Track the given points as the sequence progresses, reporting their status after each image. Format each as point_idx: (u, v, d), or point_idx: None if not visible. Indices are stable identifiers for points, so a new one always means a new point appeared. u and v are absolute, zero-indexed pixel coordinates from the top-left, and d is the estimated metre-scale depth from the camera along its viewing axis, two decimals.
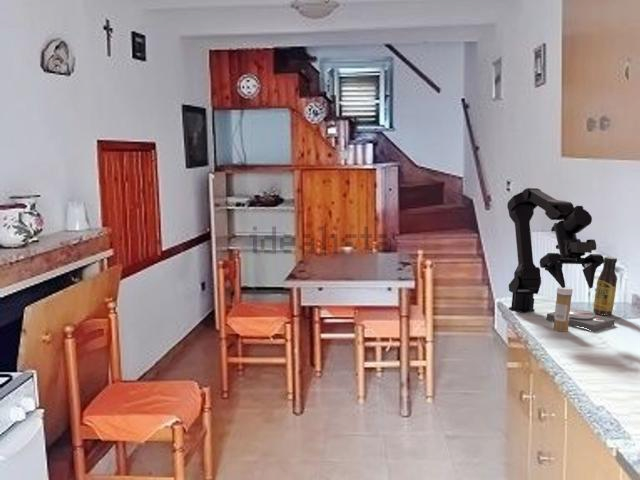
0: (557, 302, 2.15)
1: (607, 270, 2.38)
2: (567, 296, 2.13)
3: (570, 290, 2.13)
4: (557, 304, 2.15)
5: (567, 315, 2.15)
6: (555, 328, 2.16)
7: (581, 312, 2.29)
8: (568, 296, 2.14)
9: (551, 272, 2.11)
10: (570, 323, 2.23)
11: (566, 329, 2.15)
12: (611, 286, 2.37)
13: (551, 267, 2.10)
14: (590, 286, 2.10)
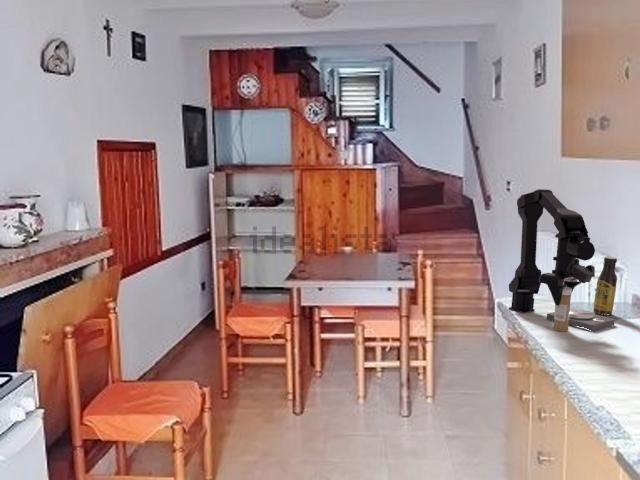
0: None
1: (607, 270, 2.38)
2: (566, 296, 2.13)
3: (569, 290, 2.13)
4: None
5: (567, 315, 2.14)
6: (555, 328, 2.16)
7: (581, 312, 2.29)
8: (567, 296, 2.13)
9: (550, 287, 2.14)
10: (570, 323, 2.23)
11: (566, 329, 2.15)
12: (611, 286, 2.37)
13: None
14: None
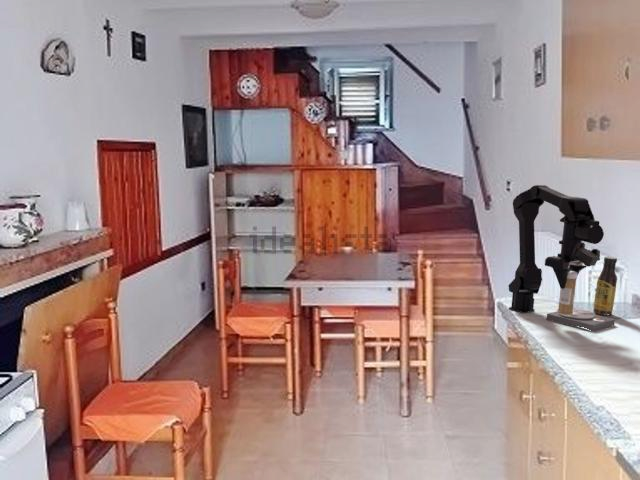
0: None
1: (607, 270, 2.38)
2: (572, 280, 2.16)
3: (575, 274, 2.16)
4: None
5: (572, 298, 2.17)
6: (559, 311, 2.19)
7: (581, 312, 2.29)
8: (573, 280, 2.16)
9: (555, 270, 2.17)
10: (570, 323, 2.23)
11: (570, 312, 2.18)
12: (611, 286, 2.37)
13: (559, 268, 2.15)
14: None
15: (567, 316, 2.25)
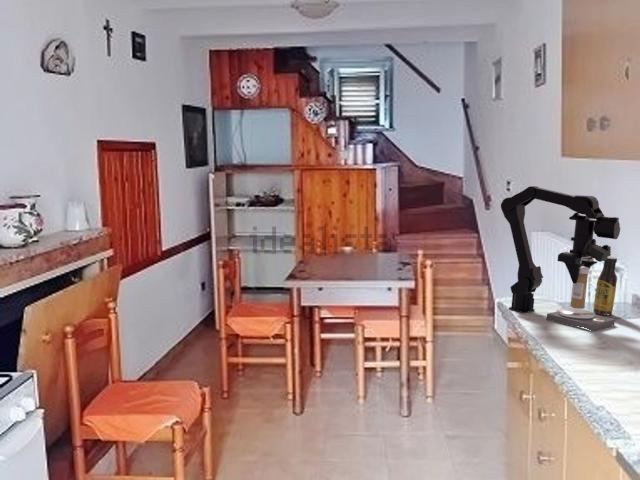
0: None
1: (607, 270, 2.38)
2: (584, 275, 2.24)
3: (587, 269, 2.24)
4: None
5: (583, 293, 2.25)
6: (572, 305, 2.27)
7: (581, 312, 2.29)
8: (585, 275, 2.24)
9: (568, 266, 2.25)
10: (570, 323, 2.23)
11: (582, 306, 2.26)
12: (611, 286, 2.37)
13: (571, 264, 2.23)
14: None
15: (567, 316, 2.25)
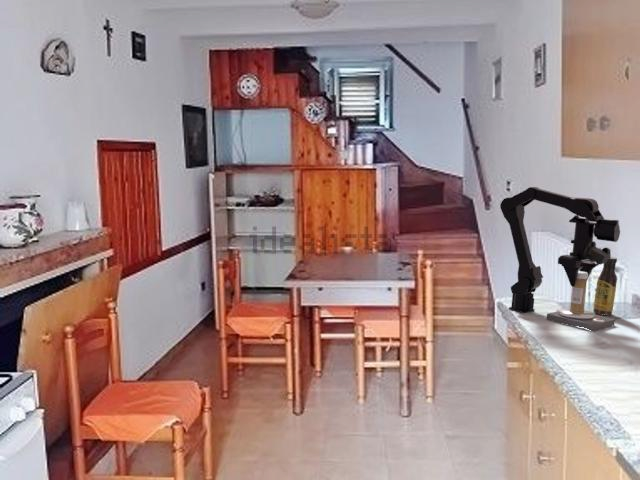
0: None
1: (607, 270, 2.38)
2: (583, 280, 2.25)
3: (586, 274, 2.25)
4: (573, 288, 2.27)
5: (583, 298, 2.26)
6: (571, 310, 2.28)
7: None
8: (584, 280, 2.25)
9: (566, 269, 2.25)
10: (570, 323, 2.23)
11: (582, 311, 2.27)
12: (611, 286, 2.37)
13: (569, 267, 2.23)
14: None
15: (567, 316, 2.25)
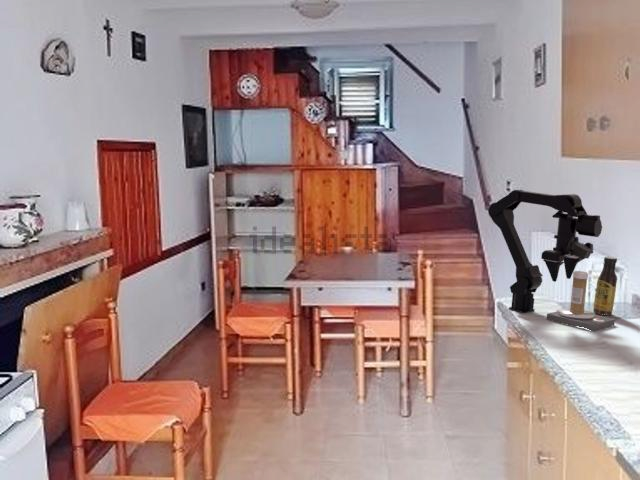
0: (573, 286, 2.27)
1: (607, 270, 2.38)
2: (583, 280, 2.25)
3: (586, 274, 2.25)
4: (573, 288, 2.27)
5: (583, 298, 2.26)
6: (571, 310, 2.28)
7: None
8: (584, 280, 2.25)
9: (547, 264, 2.26)
10: (570, 323, 2.23)
11: (582, 311, 2.27)
12: (611, 286, 2.37)
13: None
14: (568, 277, 2.33)
15: (567, 316, 2.25)
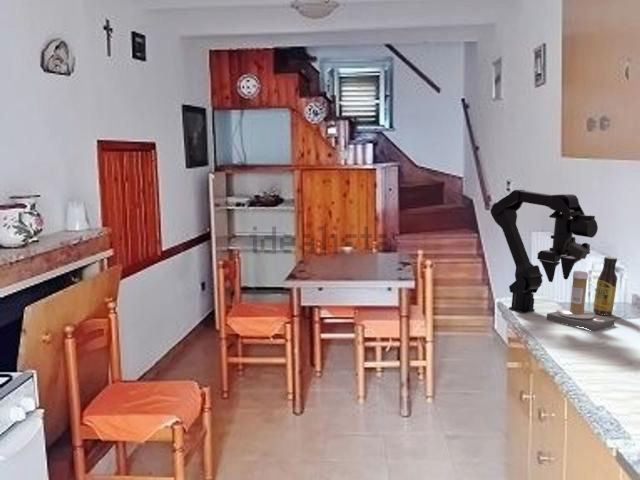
0: (573, 286, 2.27)
1: (607, 270, 2.38)
2: (583, 280, 2.25)
3: (586, 274, 2.25)
4: (573, 288, 2.27)
5: (583, 298, 2.26)
6: (571, 310, 2.28)
7: None
8: (584, 280, 2.25)
9: (544, 264, 2.25)
10: (570, 323, 2.23)
11: (582, 311, 2.27)
12: (611, 286, 2.37)
13: (547, 262, 2.23)
14: (565, 277, 2.31)
15: (567, 316, 2.25)
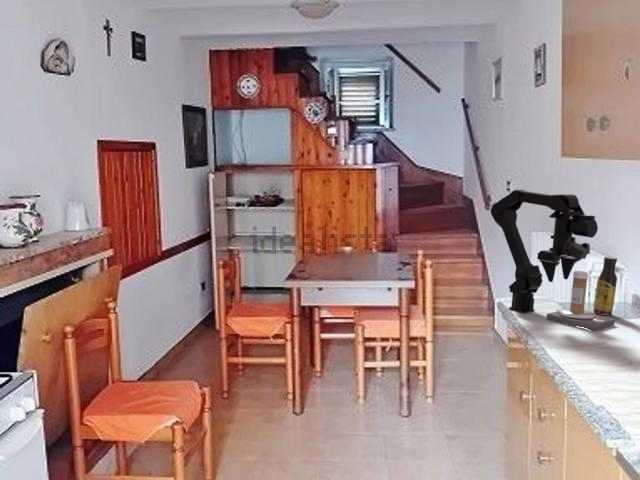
0: (573, 286, 2.27)
1: (607, 270, 2.38)
2: (583, 280, 2.25)
3: (586, 274, 2.25)
4: (573, 288, 2.27)
5: (583, 298, 2.26)
6: (571, 310, 2.28)
7: None
8: (584, 280, 2.25)
9: (544, 264, 2.25)
10: (570, 323, 2.23)
11: (582, 311, 2.27)
12: (611, 286, 2.37)
13: (547, 262, 2.23)
14: (565, 277, 2.31)
15: (567, 316, 2.25)
